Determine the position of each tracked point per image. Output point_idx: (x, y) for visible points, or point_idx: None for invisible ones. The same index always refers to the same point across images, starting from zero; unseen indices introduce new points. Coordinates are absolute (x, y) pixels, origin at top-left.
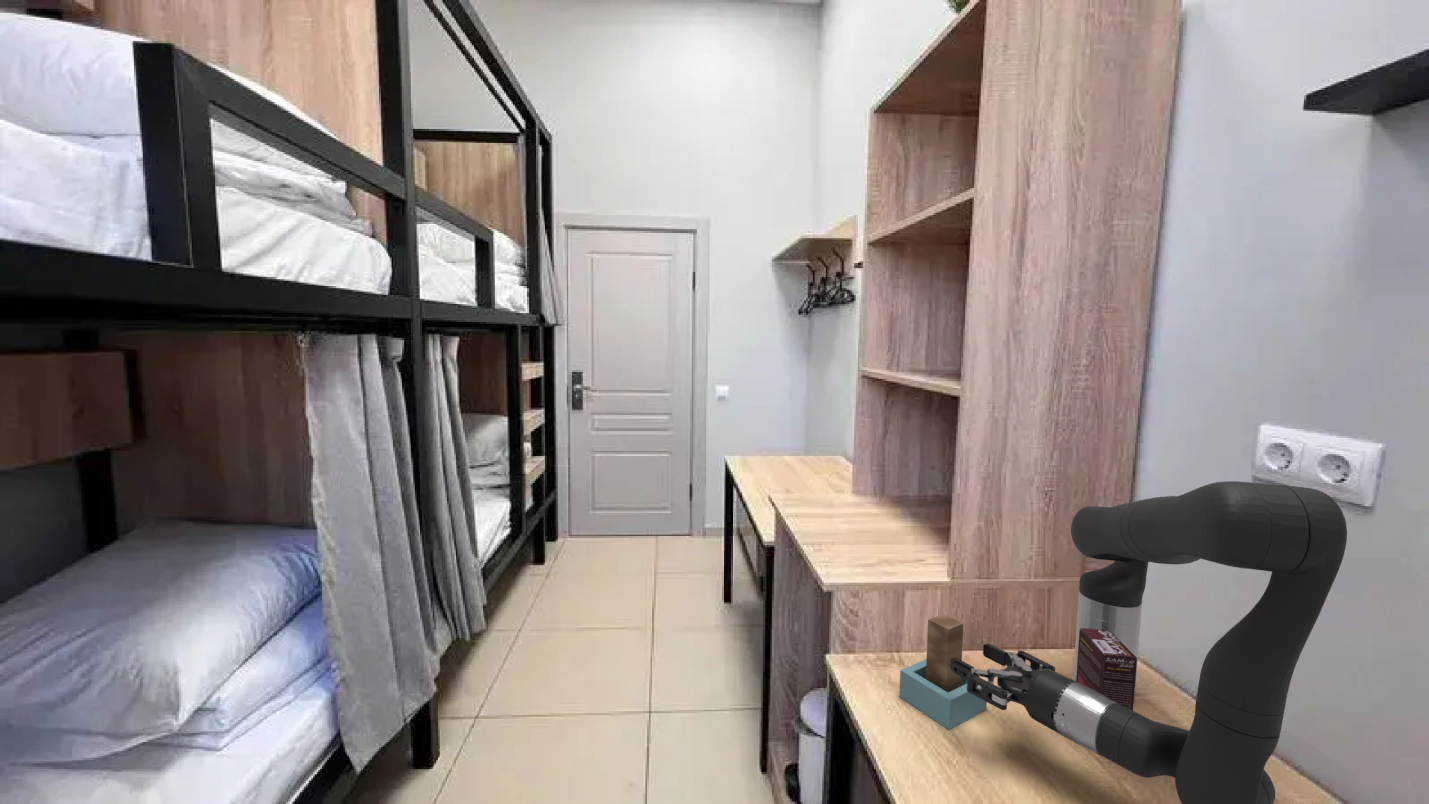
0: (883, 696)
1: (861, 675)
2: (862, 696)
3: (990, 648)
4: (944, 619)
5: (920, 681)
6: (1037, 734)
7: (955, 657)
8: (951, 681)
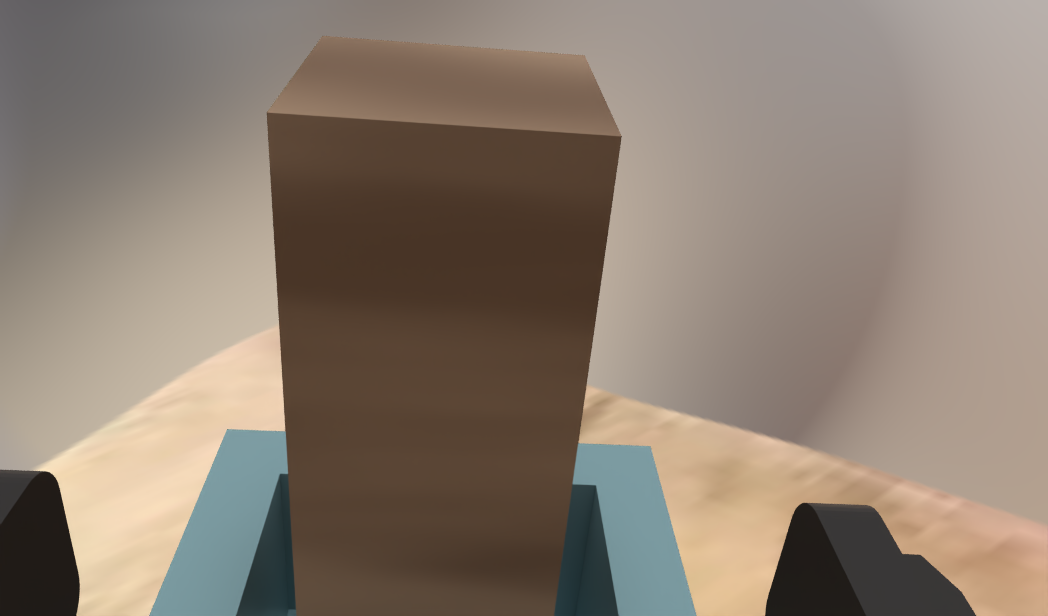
0: (174, 538)
1: (276, 401)
2: (81, 488)
3: (835, 594)
4: (482, 70)
5: (183, 558)
6: None
7: (25, 478)
8: None
